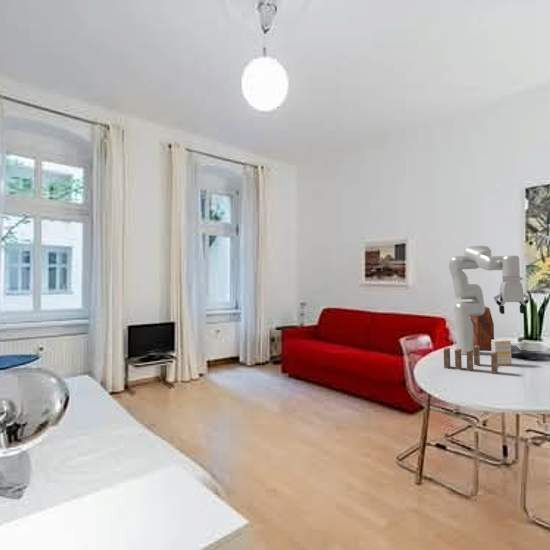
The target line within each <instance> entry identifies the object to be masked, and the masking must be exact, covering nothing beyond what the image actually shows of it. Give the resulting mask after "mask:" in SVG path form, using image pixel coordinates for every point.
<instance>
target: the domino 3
mask: <svg viewBox="0 0 550 550" xmlns="http://www.w3.org/2000/svg"><path fill="white" fill-rule="evenodd" d="M467 370H468V371H467ZM473 370H474V354H473V350H467V355H466V371H467V372H472V371H473Z"/></svg>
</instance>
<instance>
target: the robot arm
mask: <svg viewBox="0 0 550 550" xmlns="http://www.w3.org/2000/svg"><path fill="white" fill-rule="evenodd" d="M520 267H521V266H520V256H518V255H492V249H491V248H490V247H489V246H487V245H471V246H467V247H466V248H465V249H464V251H463V255H456V256H453V257H451V258H450V260H449V262H448V269H449V270H448V271H449V272H450V275H451V277H452V284H453V291H454V292H453V293H454V296H455V298H456V299H457V300H471V301H460V302H459V301H458V302H456V303H455V304H454V307H453V311H454V315H455V324H456V325H455V329H456V333H455V334H456V344H455V345H454V347H455V348H456V349H461V355H466V356H467V350H473V355H474V332H473V323H472V321H471V320H470V317H478V316H482V315H483V314H484V312H485V307H486V306H485V301H484V294H483V290H482V287H481V286H480V285H479V284H476V283H469V277H468V276H467V274H466V272H465V271H464V270H477V269H479V268H480V269H482V270H486V271H502V282H500V287H499V293H498V294H497V295H495V296H493V301H494V303H496V304H497V305H498V309H499V310H498V311H499V313H500V314H501V315H504V314H505V306H504V305H505V304H506V303H519V304H520V305H519V313H520V314H525V312H526V306H527V304H528V303H529V301H530V300H531V296H530V295H527V294H526V293H524V287H523V284H522V282H521V281H523V279H524V278H523V277H521V274H520V273H521V271H520ZM456 349H454V350H453V352H454V353H455V350H456Z"/></svg>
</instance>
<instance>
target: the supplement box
mask: <svg viewBox="0 0 550 550" xmlns="http://www.w3.org/2000/svg"><path fill="white" fill-rule="evenodd" d="M491 346H492V350H491V353H492V352H497V363H498V366H512V361H513V360H512V340H510V339H494V340H491Z"/></svg>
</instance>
